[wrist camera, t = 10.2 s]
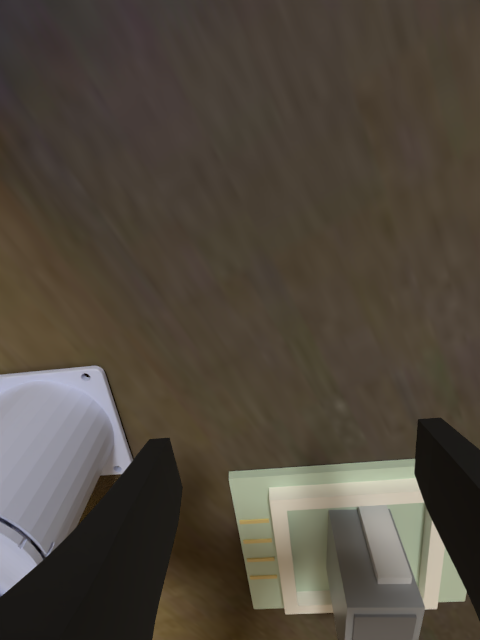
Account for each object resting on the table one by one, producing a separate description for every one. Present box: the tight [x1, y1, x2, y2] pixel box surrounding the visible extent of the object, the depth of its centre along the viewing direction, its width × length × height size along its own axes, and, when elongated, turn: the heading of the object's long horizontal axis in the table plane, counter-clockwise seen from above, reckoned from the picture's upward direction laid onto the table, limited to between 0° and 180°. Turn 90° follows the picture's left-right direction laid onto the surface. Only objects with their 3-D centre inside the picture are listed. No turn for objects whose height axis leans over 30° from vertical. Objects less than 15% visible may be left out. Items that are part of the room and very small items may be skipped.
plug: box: [326, 505, 425, 640], centre depth 25 cm, size 4×6×6 cm, turn 4°
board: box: [229, 459, 467, 614], centre depth 27 cm, size 16×14×2 cm
